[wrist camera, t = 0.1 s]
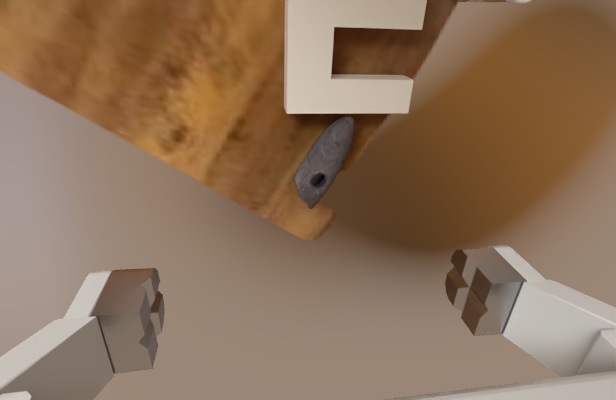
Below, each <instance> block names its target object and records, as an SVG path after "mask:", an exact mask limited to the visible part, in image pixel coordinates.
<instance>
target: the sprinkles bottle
mask: <svg viewBox="0 0 616 400" xmlns="http://www.w3.org/2000/svg"><path fill="white" fill-rule="evenodd" d="M457 1H460V2H466V1H473V2H509V3H513V4H523V3H528V2H530V1H532V0H457Z"/></svg>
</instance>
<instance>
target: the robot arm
mask: <svg viewBox="0 0 616 400" xmlns="http://www.w3.org/2000/svg"><path fill="white" fill-rule="evenodd" d="M451 263H452V264H453V266H454V267H453V268H452V269H451V270H450V271H449V272H448V273H447V277H446V281H445V286H446V293H447V296H448V299H449V300H450V302H451V303H452V305H453V306H454V307H456V308H458V309H459V310H461V311H462V316H461V318H462V320H463V321H464V322H465V324H466V325H467V327H468V328H469V329H470V331H471V332H472V334H473V335H474V336H480V335H494V334H503V336H504V337H506V338H507V339H509V340H510V341H512V342H513V343H514V344H516V345H517V346H519V347H520V348H521V349H523V350H524V351H526V352H527V353H528V354H530V355H531V356H533V357H534V358H535V359H537V360H538V361H540V362H541V363H542V364H544V365H545V366H547V367H548V368H549V369H551V370H552V371H554V372H555V373H556V374H558V375H559V376H561V378H553V379H545V380H537V381H529V382H521V383H513V384H505V385H497V386H489V387H482V388H474V389H465V390H457V391H449V392H441V393H433V394H426V395H417V396H409V397H401V398H393V399H386V400H616V308H615V307H612V306H610V305H608V304H606V303H604V302H601V301H599V300H597V299H594V298H592V297H590V296H587V295H585V294H583V293H580V292H578V291H576V290H574V289H571V288H569V287H567V286H564V285H562V284H560V283H557V282H555V281H553V280H545V279H544V278H543V277H542V276H541V275H540V274H539V273H538V272H537V271H536V270H535V269H533V268H532V267H531V266H530V265H529V264H528V263H527V262H526V261H525V260H524V259H523V258H522V257H520V256H519V255H518V254H517V253H516V252H515V251H514V250H513V249H512V248H511V247H508V246H506V245H501V246H492V247H491V246H490V247H485V248H470V249H457V250H455V252H454V253H453V255H452V258H451ZM159 283H160V279H159V274H158V270H157V269H156V268H151V269H149V268H148V269H125V270H114V271H113V270H106V271H93V272H91V273H90V274H88V275H87V278H86V279H85V281H84V283H83V284H82V286H81V288H80V290H79V291H78V293H77V295H76V297H75V299H74V300H73V302H72V304H71V306H70V308H69V309H68V311H67V313H66V315H65V316H64V318H63V319H58V320H55V321H53V322H52V323H50V324H49V325H47V326H46V327H45V328H43V329H41V330H40V331H38V332H37V333H36V334H34V335H32V336H31V337H29V338H28V339H27V340H25V341H24V342H22V343H21V344H19V345H18V346H16V347H15V348H13V349H12V350H10V351H9V352H7V353H6V354H4V355H3V356H1V357H0V400H93V399H94V398H95V397H96V396H97V395H98V394H99V392H100V391H101V390H102V389H103V388H104V387H105V386H106V385H107V383H108V382H109V381H110V380H111V379H112V378H113V377H114V374H117V373H125V372H132V371H140V370H147V369H153V364H154V360H155V356H156V352H157V348H158V343H157V338H156V336H157V335H158V334H160V333H161V332H162V327H163V322H164V300H163V295H162V294H161V293H160V292H159V291H158V286H159Z"/></svg>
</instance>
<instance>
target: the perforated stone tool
mask: <svg viewBox="0 0 616 400" xmlns="http://www.w3.org/2000/svg"><path fill="white" fill-rule="evenodd" d="M353 136H354V120H353V118H352V117H351V116H349V115H348V116H343V117H341V118H339V119H338V120H336V121H335V122H333V123H332V124H331V125H330V126H329V127H328V128H327V129H326V130H325V131H324V132H323V133H322V134H321V136H320V137H319V138H318V140H317V141H316V142H315V144H314V145H313V147H312V148H311V150H310V151H309V153H308V154H307V157H306V159H305V160H304V161H303V162H302V164H301V165H300V167H299V169H298V171H297V173H296V174H295V177H294V182H295V185H296V187H297V189H298V191H299V196H300V198H301V199H303V200H304V201H305V202H307V203H308V207H309V208H310V209H312V208H313V207H314V206H315V205H316V204H317V203H318V202H319V200H320V199H321V198H322V197H323V195H324V194H325V192H326V191H327V190H328V188H329V187H330V186H331V184H332V182H333V181H334V179H335V178H336V176H337V174H338V172H339V171H340V169H341V167H342V165H343V163H344V161H345V159H346V157H347V154H348V151H349V149H350V146H351V143H352V140H353Z"/></svg>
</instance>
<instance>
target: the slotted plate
mask: <svg viewBox="0 0 616 400" xmlns="http://www.w3.org/2000/svg"><path fill="white" fill-rule="evenodd" d="M426 3H427V0H285V52H284V108H285V110H286V113H287V114H355V113H408V112H409V106H410V100H411V93H412V88H413V82H414V80H412V79H410V78H408V77H406V76H404V75H359V74H331V70H332V55H333V40H334V27H351V28H381V29H410V30H422V27H423V21H424V15H425V9H426Z"/></svg>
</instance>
